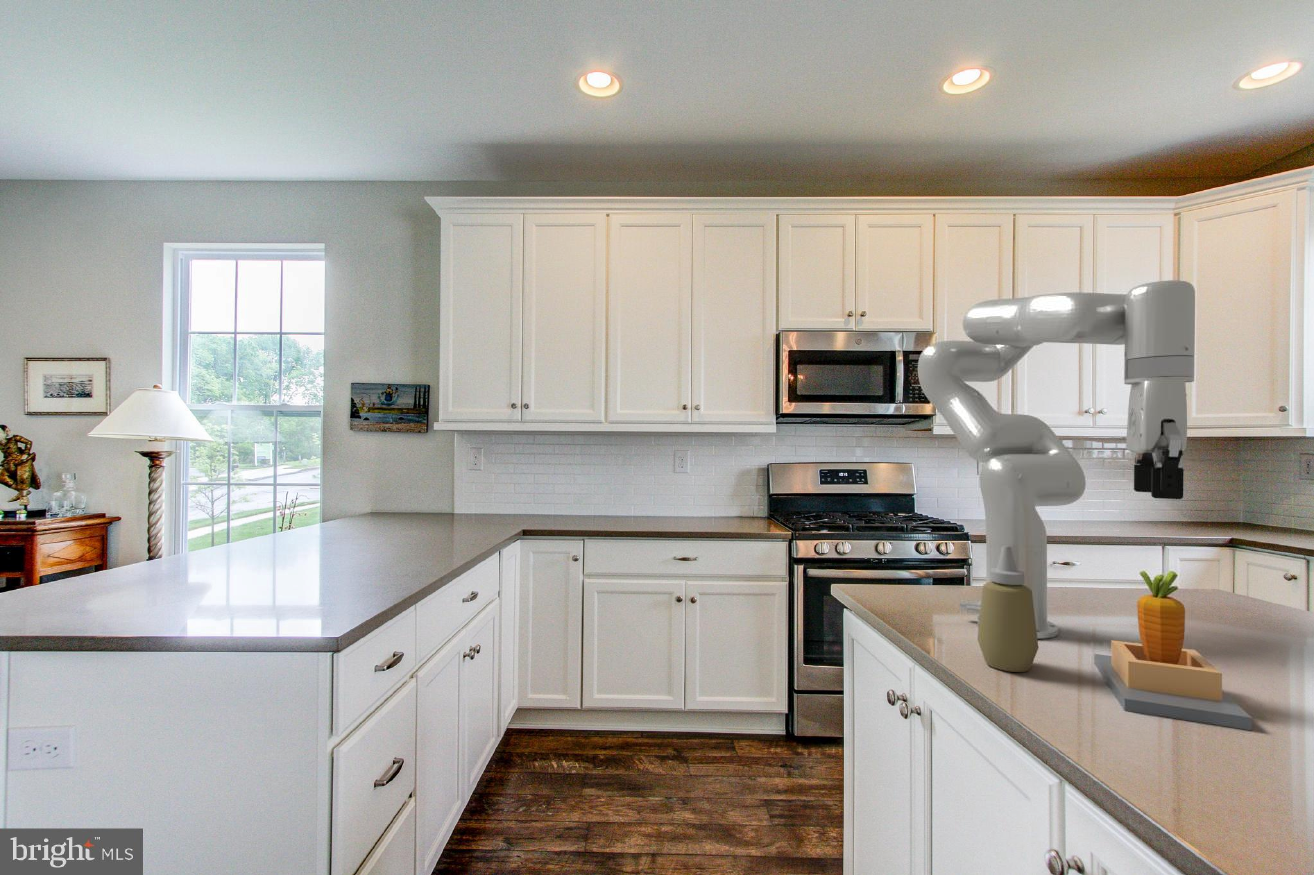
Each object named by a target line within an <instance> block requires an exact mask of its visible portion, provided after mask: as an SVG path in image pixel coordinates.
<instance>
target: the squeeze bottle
mask: <svg viewBox="0 0 1314 875" xmlns="http://www.w3.org/2000/svg"><path fill="white" fill-rule="evenodd" d="M990 580H991V582H988V583H984V584H983V585H982V592H981V599H980V600H981V610H980V614H979V615H980V619H979V624H978V629H977V630H978V631H977V643H978V646H979V647H980V651H981V653H982V656H983V660H984V661H985V663H986V664H987V665H988V666H989V667H992V668H994V669H998V670H1002V671H1005V672H1006V671H1007V672H1011V673H1012V672H1013V673H1022V672H1023V673H1025V672H1028V671H1029V670H1031V668H1032V665H1033V663H1034V661H1035V658H1036V655H1037V653H1038V650H1039V641H1038V638H1037V631H1036V622H1035V614H1034V606H1033V597H1032V590H1031V589H1030V588H1028V587H1027V586H1025V585H1022V584H1024V583H1025V573H1024V572H1023V571H1020V570H1017V569H1016V565H1015V561H1014V557H1013V553H1012V549H1011V547H1009V546H1002V550H1001V554H1000V558H999V563H998V567H997V568H992V569H990Z"/></svg>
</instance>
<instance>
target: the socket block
mask: <svg viewBox="0 0 1314 875" xmlns="http://www.w3.org/2000/svg"><path fill="white" fill-rule="evenodd" d="M1110 642H1111V644H1110V650H1111V652H1110V653H1111V654H1110V655H1108V654H1100V653H1099V654H1098V653H1094V656H1093V657H1094V658H1093V659H1094V660H1093V661H1094V663H1093V664H1094V666H1095V668H1096V669H1097V670H1098V672H1099V673H1100V674H1101V676H1102V678H1103V679H1104V680H1105V682H1106V684H1107V685H1108V687H1109V688H1110V690H1111V692H1112V694H1114V697H1115V698H1116V699H1117V701H1118V703H1119V704H1120V706H1121V707H1122V709H1123V710H1124V711H1126V712H1131V713H1132V712H1133V713H1138V714H1146V715H1151V716H1157V717H1165V718H1170V719H1171V718H1172V719H1176V720H1182V721H1189V722H1196V723H1202V724H1207V725H1208V724H1210V725H1215V726H1220V727H1227V728H1232V729H1241V730H1245V731H1252V728H1253V727H1252V726H1253V725H1252V723H1253V722H1252V721H1253V720H1252V716H1250V715H1249V713H1247V712H1246V711H1245V710H1244V709H1243V708H1241V706H1240V705H1239V704H1237V703H1236V702H1235V701H1234V700H1233V699H1232V698H1231V697H1230V696H1229V695H1227V693H1226V692H1224V691H1223V672H1221V671H1220V670H1219V669H1218V668H1216V667H1215V666H1214V665H1213V664H1212V663H1210V662H1209V661H1208V660H1207V659H1206V658H1204V657H1203V656H1202V655H1201V654H1200V653H1199V652H1198V651H1197V650H1195V649H1191V648H1190V649H1189V648H1182V651H1181V655H1180V659H1179V661H1178V663H1177V665H1175V664H1167V663H1159V662H1151V661H1147V658H1146V656H1145V653H1144V650H1143V646H1142V643H1138V642H1129V641H1120V640H1113V639H1112V640H1111V639H1110Z"/></svg>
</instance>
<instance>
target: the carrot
mask: <svg viewBox="0 0 1314 875" xmlns="http://www.w3.org/2000/svg"><path fill="white" fill-rule="evenodd" d="M1139 574H1140V576H1141V577H1142V579H1143V581H1144V582H1145V584H1146V585H1147V587H1148V589H1149V590H1150V592H1151V594H1147V595H1143V596H1141V597H1139V598H1138V599H1137V603H1136V604H1137V605H1136V606H1137V607H1136V608H1137V623H1138V624H1137V625H1138V633H1139V637H1140V642H1141V644H1142V646H1143V650H1144V653H1145V656H1146V658H1147V661H1151V662H1159V663H1167V664H1175V665H1177V663H1178V661H1179V659H1180V655H1181V651H1182V649H1183V646H1184V640H1185V628H1186V609H1185V605H1184V604H1183V603H1182V602H1181V601H1180V600H1178V599H1176V598H1174V597H1172V596H1169V595H1171V594H1172V593H1174V592H1175V591H1177V590H1178V589H1179V587H1178V586H1177V585H1173V583H1174V582H1175V581H1176V579H1177V577H1178V574H1177V573H1176V571H1173V570H1169V571H1168V572H1167V574H1166V575H1165V576H1164V575H1163V574H1157V575H1155V576H1154V578H1153V580H1152V579H1151V577H1150V576H1149V574H1148V573H1147V572H1146V571H1145V570H1141V571H1140V572H1139Z"/></svg>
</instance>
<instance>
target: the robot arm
mask: <svg viewBox="0 0 1314 875" xmlns="http://www.w3.org/2000/svg"><path fill="white" fill-rule="evenodd" d="M962 328H963V331H964V333H965V336H966V337H968V338H969V339H970V340H944V341H943V340H942V341H937V342H935V343H931V344H930V345H927V347H925V348H924V349H923V351H922V352H921V353H920V355H919V358H918V361H917V376H918V380H919V384H920V387H921V390H922V391H923V394H924V396H925V397H926V398H927V400H928V401H929V402H930V404H931V405H932V406H933V407H934V408H935V409H936V410H937V411H938V413H939V414H940V415H941V417H943V419H944V421H946V424H947V425H948V427H949V428H950V430H951V431H952V433H953V435H954V436H955V437H956V439H957V440H958V442H959V444H960V445H961V446H962V448H963V449H964V451H965V452H966V453H967V455H968V456H969V457H970V458H972V459H973V460H974V461H977V462H981V463H984V464H983V466H982V468H981V470H980V472H979V487H980V493H981V496H982V502H983V508H984V516H985V542H986V544H985V546H986V548H985V550H986V553H985V556H986V557H985V558H986V559H985V560H986V562H985V563H986V566H985V568H986V572H985V574H986V583H988V582H991V580H990V569H992V568H997V567H998V563H999V558H1000V554H1001V550H1002V546H1009V547H1011V549H1012V553H1013V557H1014V561H1015V565H1016V569H1017V570H1020V571H1023V572H1024V573H1025V583H1024V584H1022V585H1025V586H1027V587H1028V588H1030V589H1031V590H1032V597H1033V606H1034V614H1035V622H1036V631H1037V639H1050V638H1053V637H1056V636H1058V634H1059V627H1058V625H1057V624H1055V623H1053V622H1052V621H1049V620H1048V537H1047V529H1046V526H1045V524H1044V522H1043V519H1042V517H1041V516H1040V514H1039V513H1038V510H1037V509H1036V507H1055V506H1056V507H1060V506H1067V505H1070V504H1073V503H1075V502H1077V501H1078V500H1080V499H1081V498H1082V496H1083V495H1084V493H1085V489H1086V485H1087V484H1086V480H1087V479H1086V476H1085V473H1084V470H1083V468H1082V466H1081V465H1080V463H1079V461H1078V460H1077V459H1076V458H1075V456H1074V455H1073V454H1072V453H1071V451H1070V450H1069V449H1068V448H1067V446H1066V445H1065V444H1064V443H1063V441H1062V440H1060V438H1059V437H1058V436H1057V435H1056V433H1055V432H1054V431H1053V430H1052V428H1050V426H1049V425H1048V424H1047V423H1045V421H1043V420H1042V419H1040V418H1038V417H1036V416H1032V415H1030V414H1021V413H1020V414H1014V413H1013V414H1012V413H1002V412H998V411H997V410H996V409H995V408H994V407H993V406H992V405H991V404H990V402H988V400H987V398H986V397H985V396H984V395H983V394H982V393H981V392H980V391H978V390H977V389H975V388H974V387H972V386H971V385H969V384H967V383H966V382H969V383H970V382H971V383H972V382H974V383H975V382H977V383H984V382H985V383H991V382H996V381H999V380H1000V379H1002V378H1003V377H1004V376H1006V375H1007V374H1008V373H1009V372H1010V371H1011V370H1012V369H1013V368H1014V367H1015V366H1016V365H1017V364H1018V363H1019V362H1020V361H1021V360H1023V358H1024V357H1025V356H1026V355H1027V354H1028V352H1030V351H1031V350H1032V348H1034V347H1035V346H1039V345H1041V344H1044V343H1051V344H1053V343H1054V344H1055V343H1057V344H1058V343H1059V344H1089V345H1090V344H1091V345H1092V344H1093V345H1095V344H1096V345H1112V346H1113V345H1114V346H1115V345H1116V346H1118V345H1119V346H1120V345H1124V355H1123V356H1124V360H1123V361H1124V366H1123V369H1124V370H1123V371H1124V372H1123V373H1124V378H1123V380H1124V382H1123V384H1124V385H1129V386H1130V385H1131V386H1130V392H1129V397H1128V405H1127V406H1128V409H1127V425H1126V437H1125V438H1126V440H1125V441H1126V442H1125V448H1126V451H1128V452H1130V453H1135V455H1134V456H1135V457H1134V464H1133V490H1134V492H1136V493H1150V494H1151V497H1152V498H1154V499H1163V500H1164V499H1166V500H1181V499H1184V477H1185V476H1184V472H1185V471H1184V470H1185V468H1184V458H1183V455H1184V451H1185V450H1186V448H1187V441H1188V404H1187V397H1188V395H1187V388H1186V385H1187V384H1186V383H1193V382H1195V355H1196V354H1195V349H1196V348H1195V344H1196V343H1195V342H1196V341H1195V340H1196V335H1195V334H1196V290H1195V286H1194V285H1193V284H1192V283H1190V282H1188V281H1187V280H1178V279H1176V280H1175V279H1170V280H1158V281H1152V282H1147V283H1143V284H1138V285H1137V286H1133V288H1130V290H1129V291H1127V293H1125V294H1123V293H1104V292H1103V293H1102V292H1077V291H1075V292H1074V291H1073V292H1060V293H1049V294H1048V293H1047V294H1038V295H1036V294H1035V295H1031V296H1027V297H1026V296H1025V297H1015V298H1014V297H1013V298H1000V299H999V298H998V299H990V300H985V301H981V302H978V303H976V304H975V305H973V306H971V307H970V308H969V309H968V310H967V312H966V313H965V315H964V316H963V319H962ZM986 583H985V584H986ZM981 600H982V599H979V600H977V601H971V600H965V599H959V601H958V603H959V611H966V613H967V614H978V616H977V619H976V620H977V621H976V623H977V625H979V619H980V610H981Z"/></svg>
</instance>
